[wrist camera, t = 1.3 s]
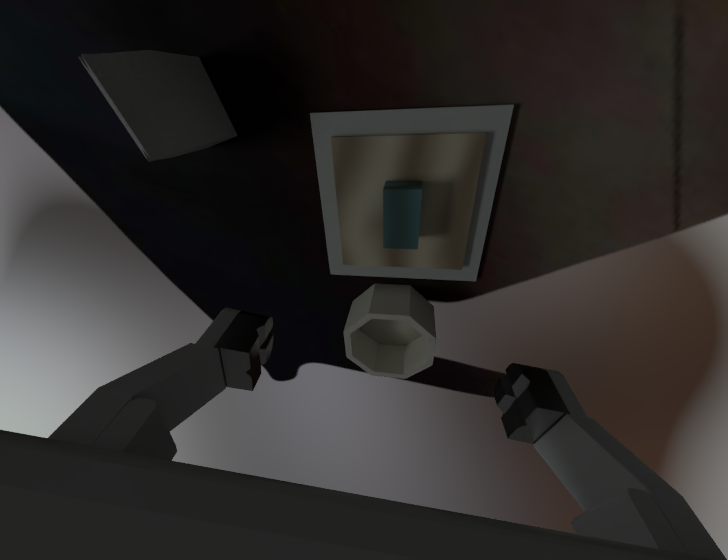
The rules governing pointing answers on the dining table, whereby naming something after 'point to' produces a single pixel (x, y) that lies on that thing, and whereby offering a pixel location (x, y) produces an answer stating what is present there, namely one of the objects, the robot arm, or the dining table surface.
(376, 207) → the board
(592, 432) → the robot arm
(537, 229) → the dining table surface
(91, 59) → the dark grey block
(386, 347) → the bowl
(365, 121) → the mat
